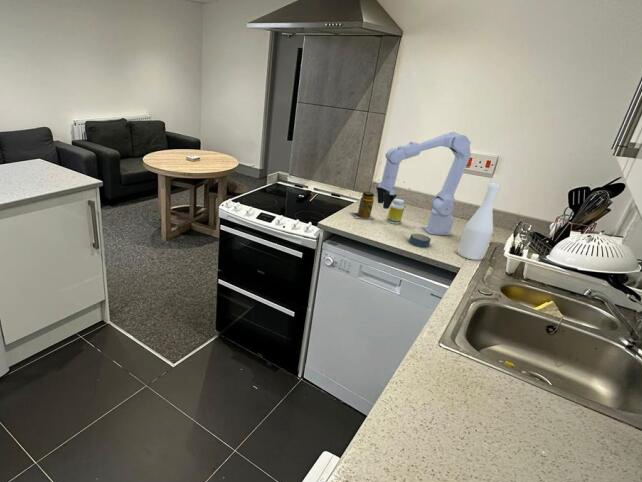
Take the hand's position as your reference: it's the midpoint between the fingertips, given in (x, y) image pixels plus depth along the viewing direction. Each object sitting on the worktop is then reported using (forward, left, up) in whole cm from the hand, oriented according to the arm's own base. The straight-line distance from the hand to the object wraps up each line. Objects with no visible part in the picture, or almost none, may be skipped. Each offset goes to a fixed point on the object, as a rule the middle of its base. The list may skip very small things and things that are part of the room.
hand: (382, 205), depth 177 cm
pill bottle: (-10, -8, -10) cm, 16 cm away
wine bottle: (-29, +26, -10) cm, 40 cm away
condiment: (+4, -13, -10) cm, 17 cm away
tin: (-12, +17, -10) cm, 23 cm away
